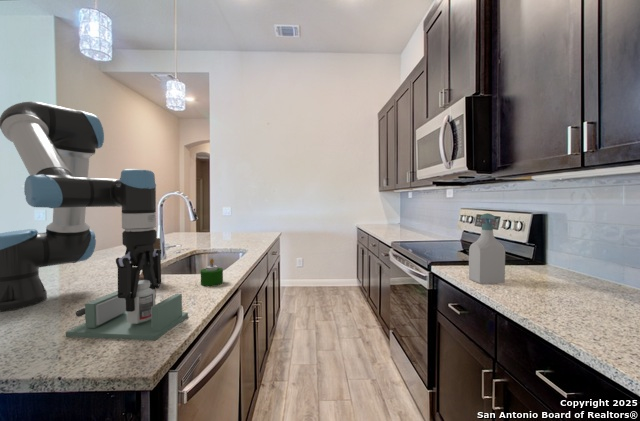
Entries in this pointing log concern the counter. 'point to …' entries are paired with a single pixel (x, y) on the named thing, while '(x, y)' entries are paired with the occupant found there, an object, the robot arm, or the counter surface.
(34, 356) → the counter surface
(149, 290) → the pill bottle
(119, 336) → the vise
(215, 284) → the candle
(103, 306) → the sliding jaw
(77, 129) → the robot arm
